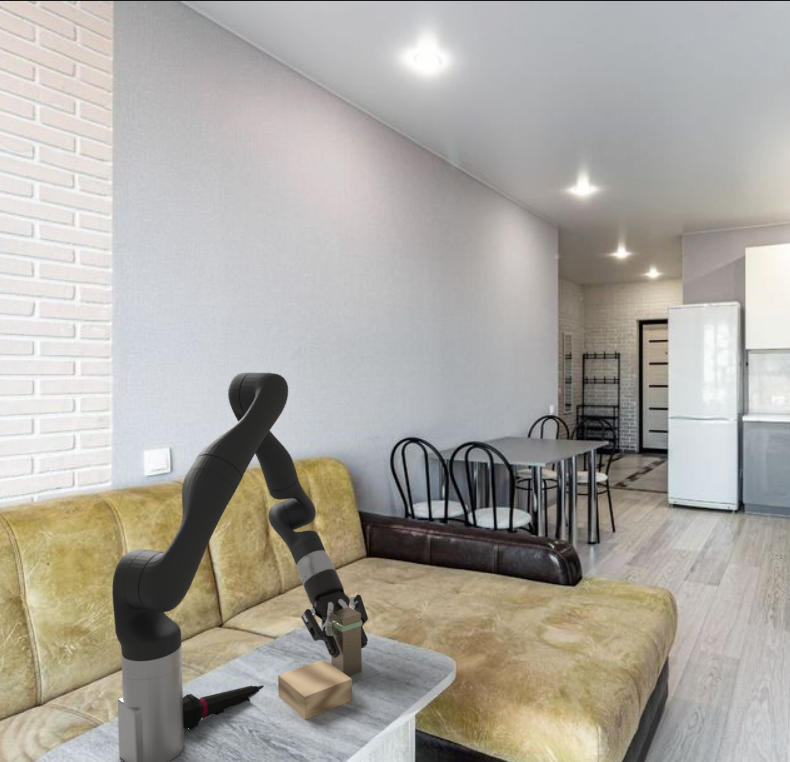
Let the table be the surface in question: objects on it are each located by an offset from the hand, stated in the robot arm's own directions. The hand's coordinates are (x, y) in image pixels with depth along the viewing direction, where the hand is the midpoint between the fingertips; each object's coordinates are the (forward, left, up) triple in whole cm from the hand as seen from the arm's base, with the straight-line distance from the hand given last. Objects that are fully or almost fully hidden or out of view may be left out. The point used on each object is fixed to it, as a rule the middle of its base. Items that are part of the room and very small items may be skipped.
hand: (350, 650), depth 126 cm
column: (0, +2, -5) cm, 5 cm away
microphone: (-23, +9, -6) cm, 26 cm away
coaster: (0, +2, -6) cm, 6 cm away
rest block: (-11, -1, -6) cm, 12 cm away
